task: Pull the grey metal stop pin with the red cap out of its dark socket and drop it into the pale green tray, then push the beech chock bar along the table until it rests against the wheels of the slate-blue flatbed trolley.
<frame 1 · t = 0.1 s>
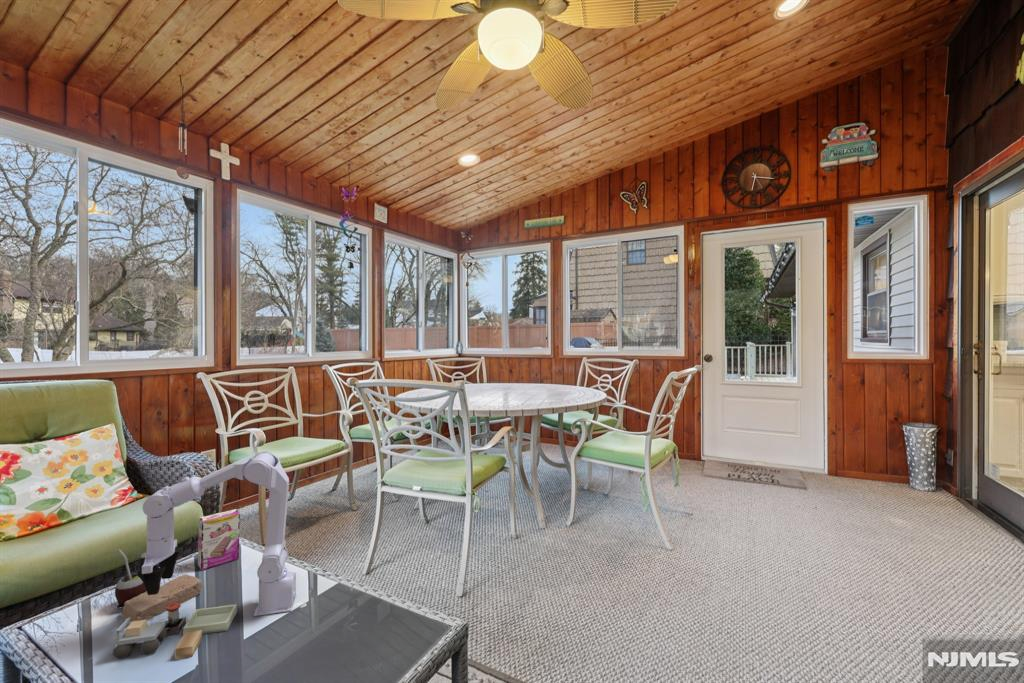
hand: (160, 585, 119), 10 cm above the table, fingers open, 7 cm apart
socket: (173, 630, 117), on the table
candy bar box: (219, 563, 150), on the table
pin: (173, 617, 117), in the socket
trolley: (141, 649, 110), on the table
mate gourd: (129, 605, 127), on the table
chock: (188, 650, 110), on the table
tray: (211, 623, 120), on the table
brick: (163, 606, 127), on the table
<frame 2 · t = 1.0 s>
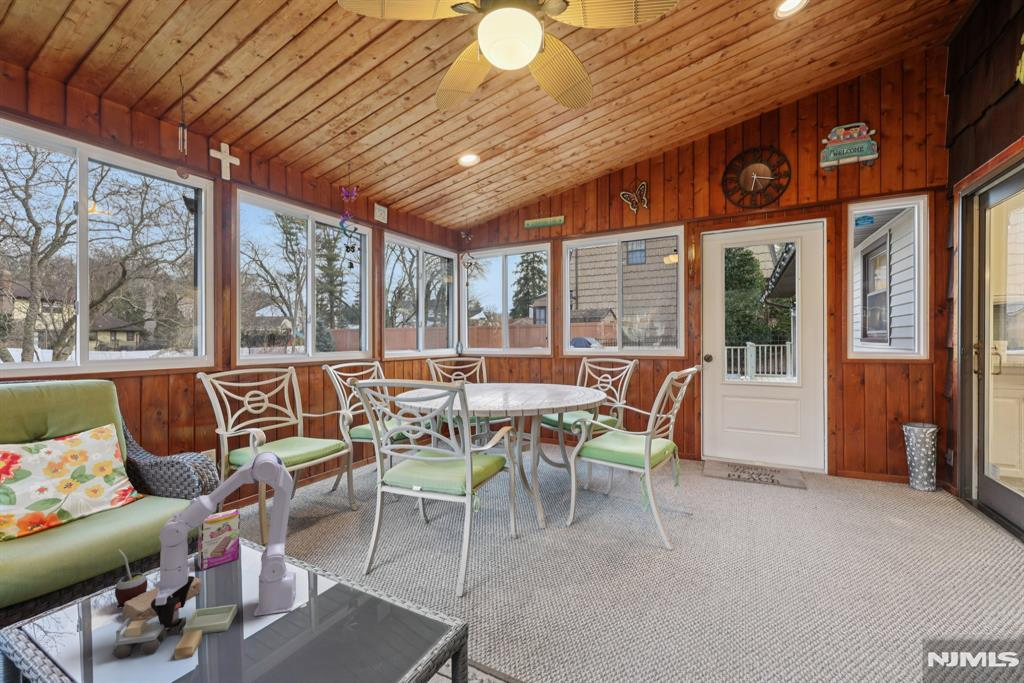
hand: (172, 616, 116), 4 cm above the table, fingers open, 7 cm apart
nothing on the table moved.
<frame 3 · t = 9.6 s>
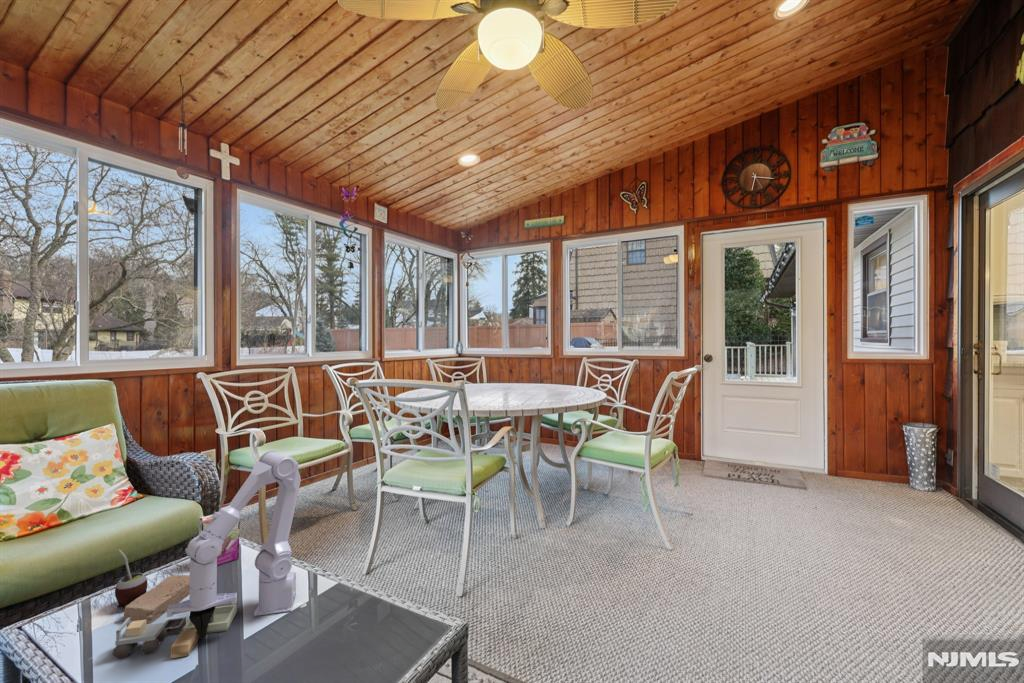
hand: (202, 636, 113), 1 cm above the table, fingers closed
pin: (208, 608, 119), in the tray, point 4 cm above the table
chock: (185, 648, 110), on the table, touching gripper
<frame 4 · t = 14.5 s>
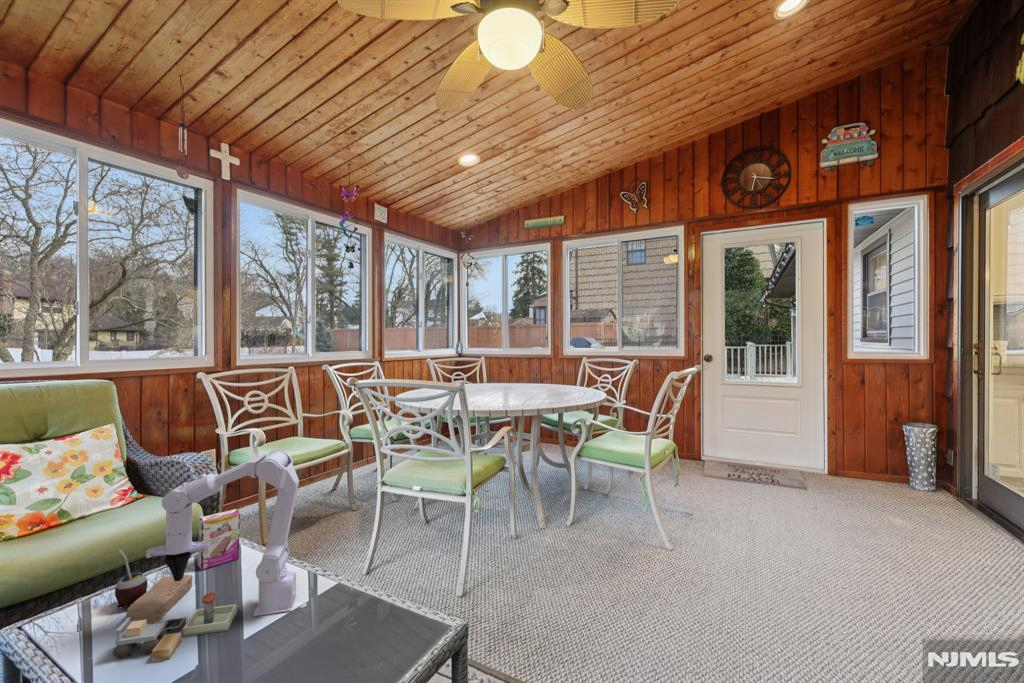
hand: (178, 579, 123), 10 cm above the table, fingers closed
chock: (166, 652, 109), on the table
at the end: pin inside the target area on the tray (0.6 cm from its centre), point 4.1 cm above the tray's base; chock inside the target area (2.3 cm from its centre), on the table; the gripper is holding nothing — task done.
